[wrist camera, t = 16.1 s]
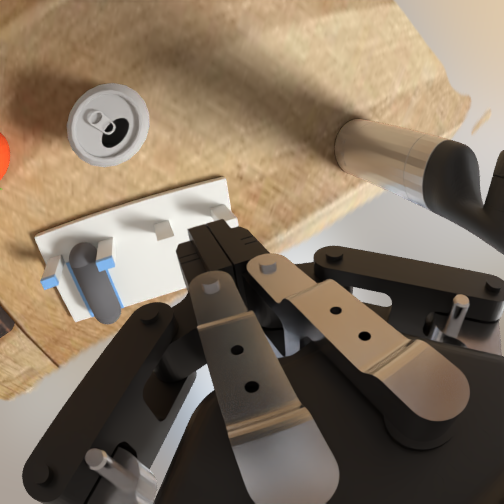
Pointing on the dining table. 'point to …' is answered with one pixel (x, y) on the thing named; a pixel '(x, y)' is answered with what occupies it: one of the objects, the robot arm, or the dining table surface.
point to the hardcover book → (5, 323)
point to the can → (108, 125)
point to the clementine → (4, 156)
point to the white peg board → (133, 243)
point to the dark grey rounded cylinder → (94, 283)
